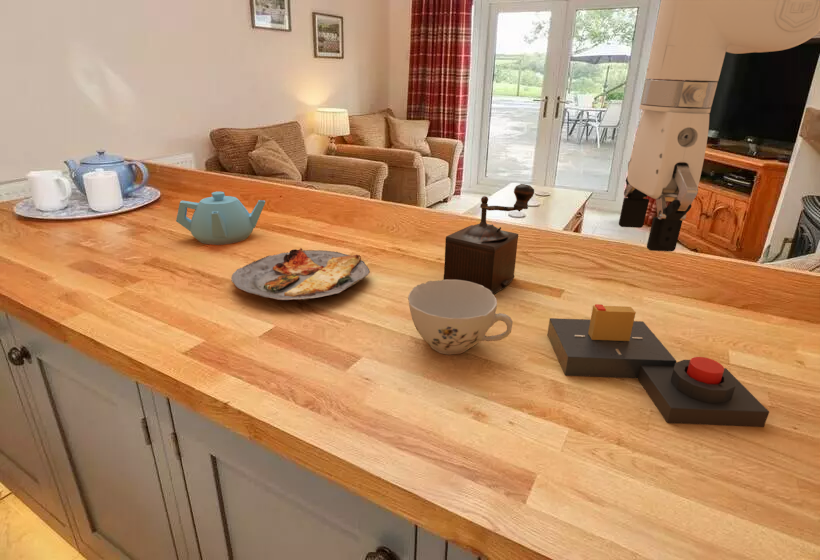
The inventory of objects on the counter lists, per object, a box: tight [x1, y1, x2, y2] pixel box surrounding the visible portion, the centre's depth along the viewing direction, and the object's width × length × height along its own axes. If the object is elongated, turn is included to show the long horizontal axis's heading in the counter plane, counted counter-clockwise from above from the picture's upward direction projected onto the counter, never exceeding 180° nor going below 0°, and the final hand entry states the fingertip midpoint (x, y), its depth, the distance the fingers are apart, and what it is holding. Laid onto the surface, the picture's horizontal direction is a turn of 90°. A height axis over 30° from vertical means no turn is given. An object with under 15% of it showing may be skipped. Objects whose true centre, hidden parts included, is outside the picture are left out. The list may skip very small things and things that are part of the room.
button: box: [687, 356, 725, 384], centre depth 59 cm, size 4×4×2 cm
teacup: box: [407, 279, 513, 355], centre depth 70 cm, size 15×12×8 cm
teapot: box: [175, 191, 266, 246], centre depth 115 cm, size 15×15×11 cm
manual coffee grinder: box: [443, 183, 535, 295], centre depth 93 cm, size 16×11×18 cm
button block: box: [637, 359, 770, 428], centre depth 60 cm, size 11×9×4 cm
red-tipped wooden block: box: [588, 303, 636, 341], centre depth 68 cm, size 5×2×5 cm, turn 88°
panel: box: [546, 317, 677, 380], centre depth 70 cm, size 14×11×3 cm
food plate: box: [231, 247, 371, 301], centre depth 92 cm, size 25×23×4 cm
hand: (644, 237), depth 64 cm, fingers open, 9 cm apart
